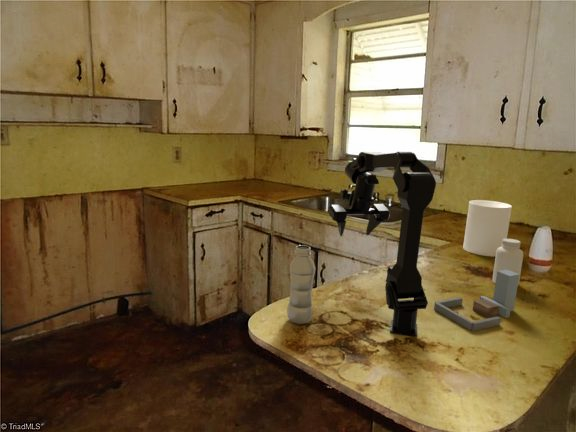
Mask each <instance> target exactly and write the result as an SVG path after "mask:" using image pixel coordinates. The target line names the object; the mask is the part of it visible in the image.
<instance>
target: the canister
mask: <svg viewBox="0 0 576 432" xmlns="http://www.w3.org/2000/svg"><path fill="white" fill-rule="evenodd" d="M512 208H513V206H512V205H511V204H509V203H506V202H501V201H495V200H487V199H486V200H484V199H475V200H474V199H473V200H469V201H468V210H467V215H466V225H465V230H464V238H463V246H462V249H463V250H464V251H466V252H468V253H471V254H474V255H479V256H483V257H484V256H485V257H496V251H497V249H498V248H499V247H501V246H502V240H503V239H508V232H509V228H510V220H511V219H510V218H511V214H512V210H513V209H512Z"/></svg>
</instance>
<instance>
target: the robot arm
mask: <svg viewBox="0 0 576 432" xmlns="http://www.w3.org/2000/svg"><path fill="white" fill-rule="evenodd" d="M388 168H389V169H391V168H393V170H394V171H393V175H392V180H393V182H394V185H395V186H396V188H397V199H398V201H399V203H400V204H401V207H402V212H401V222H400V229H399V236H398V237H399V239H398V247H397V253H396V255H397V256H396V263H395V264H394V265H393V266H388V269H387V270H386V280H385V285H384V289H385V301H386V305H387V308H388V309H390V310H393V313H392V319H390V325H389V326H390V328H389V332H390V333H392V334H398V335H404V336H411V337H417V336H418V323H417V320H418V319H417V318H418V311H419V310H422V309H423V310H426V309H427V307H428V303H429V301H428V299H427V296H426V293H425V290H424V287H423V285H422V282H423V280H422V279H423V278H422V275H421V273H420V271H419V269H418V267H417V266H418V259H419V251H420V244H421V238H422V237H421V236H422V228H423V222H424V221H423V220H424V213H425V210H426V209H427V208H428V206H429V205H430V203H432V202H433V199H434V194H435V190H436V189H437V187H436V186H437V182H436V178H435V176H434V175H433V173H432V171H431V170H430V168H429V167H428V166H427V165H426V164H425V163H423V162H422V161H420V160H419V159H418V157H417V155H416V154H415V153H414V152H411V151H396V152H390V153H386V152H385V153H384V152H380V151H376V152H375V151H373V152H372V151H361V152H359V154H358V155H357V157H356V158H355V157H353V158H352V161H350V162H348V163H347V164H346V165H345V167H344V173H345V175H346V176H347V178H348V179H349V180H350V182H352V183H353V184H354V190H352V191H348V190H347V189H340V192H339V200H341V201H344V203H347V206H348V207H350V208H344V206H343V205H342V204H330V205H329V206H328V208H327V209H328V210H327V213H328V214H329V217H330V218H331V219H332V221H334V222H336V223H337V228H338V233H339V236H340V237H343V234H344V231H345V228H346V224H347V221H346V219H347V216H365V215H369V219H368V223H367V227H366V231H365V235H366V236H369V235H370V234H371V233H372V232H373V231H374V230H375V229H376V228H377V227H378V226H379V225H380V224H382V223H384V222H385V221H387V220H389V219H390V216H391V212H390V210H389V209H388V208H387V207H386V206H385V204H384V203H373V202H374V201H375V198H374V197H373V196H374V191H375V189H376V188H375V187H376V185H379V183H380V182H379V179H378V177H377V175H376V174H374V173H379V172H382V171H386V169H388ZM402 169H409V170H410V171H411V172H409V171H407V172H403V171H402Z"/></svg>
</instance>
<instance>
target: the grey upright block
mask: <svg viewBox="0 0 576 432" xmlns="http://www.w3.org/2000/svg"><path fill="white" fill-rule="evenodd" d="M519 275H520V276H521V274H517V273H515V272H512V271H510V270H501V271H497V277H496V283H494V290H493V294H492V295H493V297H492V299H491V298H490V297H487V296H484V295H481V296H480V297H479V300H480V299H486V300H488V301H490V302H492V303H494V304H496V305H498V306H499V308H498V315H499V316H500V317H503V318H505V319H507V318H510V316H511V312H513V311H514V309H515V304H516V303H515V302H516V298H517V292H518V291H517V290H518V287H519V285H518V281H519V282H520V280H519Z"/></svg>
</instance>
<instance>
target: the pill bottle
mask: <svg viewBox="0 0 576 432" xmlns="http://www.w3.org/2000/svg"><path fill="white" fill-rule="evenodd" d="M521 243H522V242H521V241H520V240H518V239H514V238H507V239H503V240H502V246H501V247H499V248H498V249H497V251H496V256H494V257H495V259H494V266H493V271H492V273H493V274H492V283H494V284H495V283H496V277H497V271H501V270H510V271H512V272H515V273H517V274H520V275H519V281H518V286H519V284H520V278H521V271H522V267H523V259H524V252H523V250H521V249H520V248H521Z"/></svg>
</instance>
